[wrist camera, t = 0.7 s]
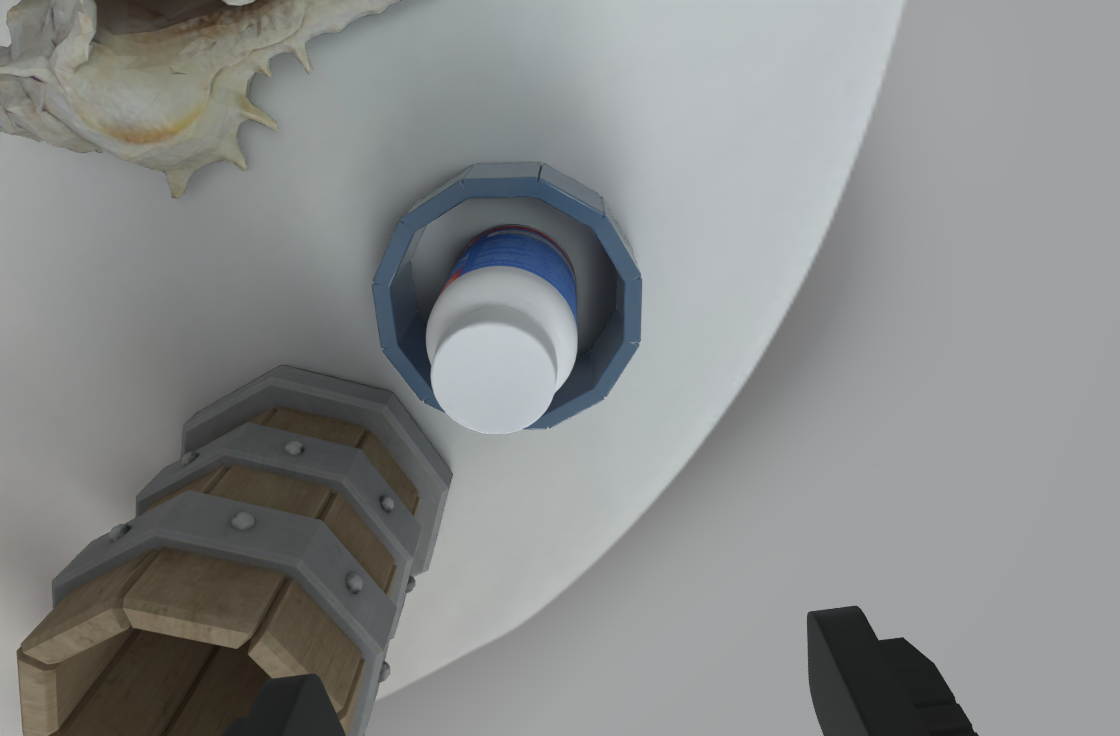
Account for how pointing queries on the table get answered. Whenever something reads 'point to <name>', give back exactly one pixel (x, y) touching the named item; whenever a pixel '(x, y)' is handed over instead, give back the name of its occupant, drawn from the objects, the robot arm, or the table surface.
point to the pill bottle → (503, 330)
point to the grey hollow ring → (521, 179)
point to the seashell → (153, 73)
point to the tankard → (245, 568)
